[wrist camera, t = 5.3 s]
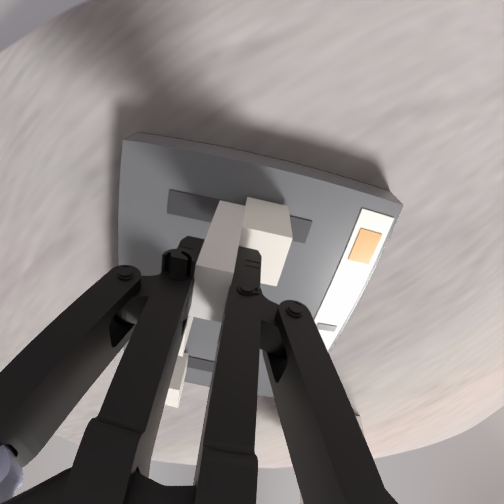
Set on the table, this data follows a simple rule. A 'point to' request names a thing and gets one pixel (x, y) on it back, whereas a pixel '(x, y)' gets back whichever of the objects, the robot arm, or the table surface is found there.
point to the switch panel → (236, 191)
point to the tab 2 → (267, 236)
